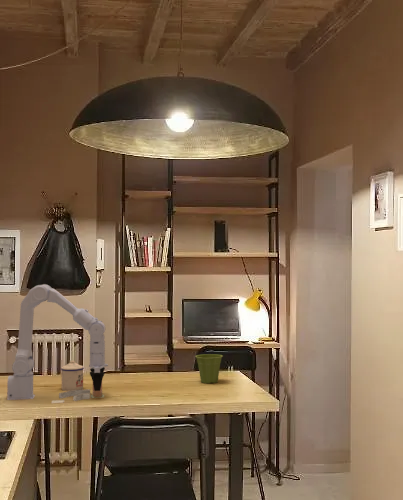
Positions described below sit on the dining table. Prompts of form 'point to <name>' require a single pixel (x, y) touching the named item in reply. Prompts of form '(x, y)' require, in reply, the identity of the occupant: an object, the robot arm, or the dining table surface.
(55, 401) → the board
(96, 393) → the peg
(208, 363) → the plant pot
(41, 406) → the dining table surface
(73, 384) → the teacup with lid
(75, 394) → the rails
